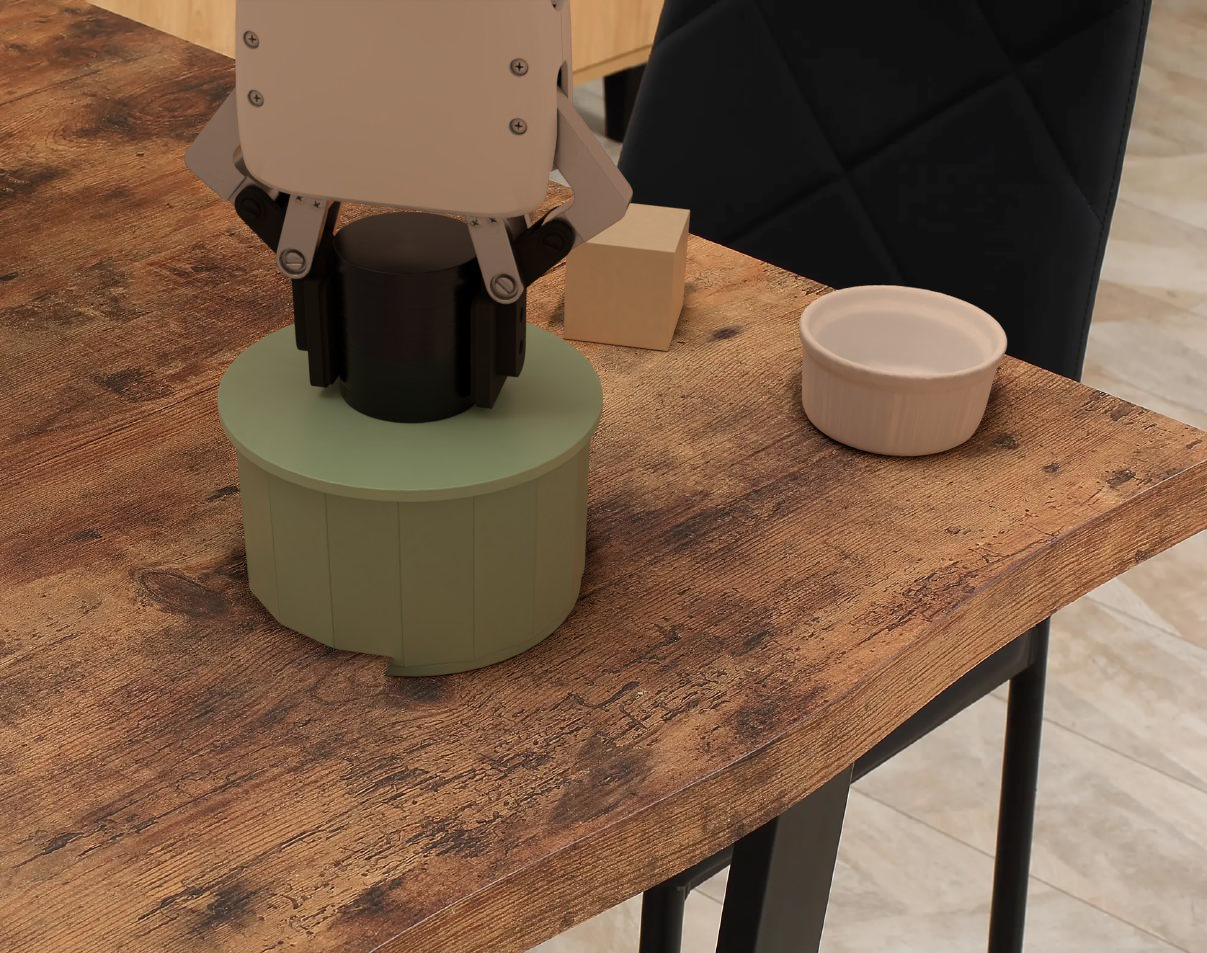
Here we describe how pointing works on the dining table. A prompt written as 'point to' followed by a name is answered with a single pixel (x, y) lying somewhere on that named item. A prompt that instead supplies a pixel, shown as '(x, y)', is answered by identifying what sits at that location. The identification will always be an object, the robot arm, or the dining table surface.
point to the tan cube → (629, 280)
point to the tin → (419, 567)
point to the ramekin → (897, 368)
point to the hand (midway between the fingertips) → (411, 374)
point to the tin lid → (407, 381)
